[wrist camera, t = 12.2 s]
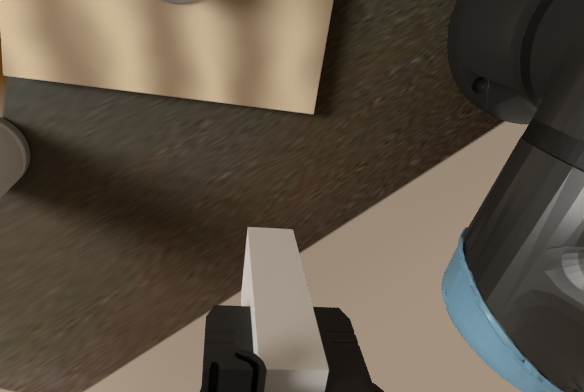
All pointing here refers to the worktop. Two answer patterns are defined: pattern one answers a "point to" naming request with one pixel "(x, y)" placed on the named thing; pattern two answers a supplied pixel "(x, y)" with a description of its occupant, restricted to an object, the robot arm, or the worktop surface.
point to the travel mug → (12, 155)
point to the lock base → (173, 47)
